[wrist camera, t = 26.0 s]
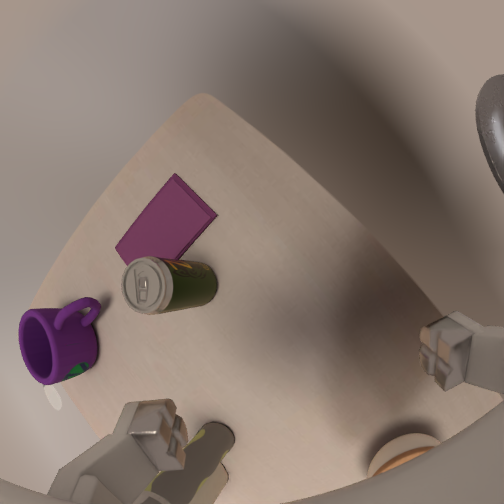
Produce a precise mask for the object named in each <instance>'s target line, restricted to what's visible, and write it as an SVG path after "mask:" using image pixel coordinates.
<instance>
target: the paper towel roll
mask: <svg viewBox="0 0 504 504" xmlns="http://www.w3.org/2000/svg"><path fill="white" fill-rule="evenodd" d="M227 481H228V474H227V472H226V471H225V469H224V467H223V465H222V464H221V462H220V463H219V465H218V466H217V468H216V469H215V471H214V472H213V473H212V475H211V476H209V477H208V479H207V480H206V481H205V483H204V484H203V485H202V486H201V488H200V489H199V490H198V491H197V493H196V494H195V495H194V497H193V499H192V500H191V501H190V503H189V504H213V503H214V502H215V500H216V499H217V497H218V496H219V494H220V493H221V491H222V489H223V488H224V486H225V485H226V483H227Z"/></svg>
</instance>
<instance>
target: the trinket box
mask: <svg viewBox="0 0 504 504" xmlns="http://www.w3.org/2000/svg"><path fill="white" fill-rule="evenodd" d="M439 444H441V442H440V441H438V440H437V439H435V438H434V437H432V436H430V435H427V434H422V433H412V434H406V435H402V436H399V437H397V438H395V439H393V440H391V441H390V442H388V443H387V444H385V445H384V446H383V447H382V448H381V449H380V450H379V451H378V452H377V453H376V455H375V456H374V458H373V459H372V461H371V463H370V466H369V469H368V473H367V479H368V478H370V477H373V476H375V475H378V474H380V473H383V472H385V471H387V470H390V469H392V468H394V467H396V466H399V465H401V464H403V463H405V462H407V461H409V460H411V459H413V458H415V457H417V456H419V455H421V454H423V453H425V452H427V451H428V450H430V449H432V448H434V447H436V446H437V445H439Z"/></svg>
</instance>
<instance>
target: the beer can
mask: <svg viewBox="0 0 504 504" xmlns="http://www.w3.org/2000/svg"><path fill="white" fill-rule="evenodd" d="M121 286H122V293H123V296H124V299H125V301H126V302H127V304H128V305H129V307H130V308H132V309H133V310H134V311H136V312H139V313H144V314H147V315H155V314H161V313H166V312H172V311H177V310H182V309H188V308H193V307H198V306H202V305H205V304H207V303H208V302H209V301H210V300H211V299H212V298H213V296H214V294H215V292H216V287H217V283H216V277H215V275H214V273H213V271H212V270H211V269H210V268H209V267H208V266H207V265H205V264H203V263H199V262H192V261H184V260H176V259H168V258H161V257H153V256H147V257H142V258H139V259H135V260H134V261H132V262H131V263H130V264H129V265H128V266H127V267H126V269H125V271H124V273H123V276H122V283H121Z"/></svg>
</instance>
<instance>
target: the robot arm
mask: <svg viewBox="0 0 504 504" xmlns="http://www.w3.org/2000/svg"><path fill="white" fill-rule="evenodd" d="M419 339H420V340H421V341H422V343H423V344H422V345H421V347H420V349H419V361H420V364H421V367H422V368H423V370H424V371H425V372H426V373H427V374H428V375H432V376H435V382H436V383H437V384H438V385H439V386H440V387H441V388H442V389H443V390H444V391H445V392H446V391H448V390H449V389H451V388H453V387H455V386H457V385H458V384H460V383H462V382H464V381H465V383H468V384H472V385H475V386H478V387H481V388H485V389H488V390H491V391H495V392H498V393H501V394H504V327H500V326H487V327H484V326H482V325H481V324H479V323H477V322H475V321H474V320H472V319H471V318H469V317H467V316H466V315H464V314H462V313H460V312H459V311H454V312H452V313H450V314H448V315H446V316H444V317H443V318H441V319H439V320H437V321H435V322H433V323H431V324H429V325H427V326H424V327H422V328H421V330H420V335H419ZM176 409H177V408H176V406H175V404H174V402H173V401H172V400H171V399H160V400H149V401H138V402H128V403H127V404H125V406H124V408H123V411H122V413H121V415H120V417H119V420H118V422H117V424H116V427H115V429H114V431H113V433H112V434H108V435H107V436H105V437H104V438H103V439H101V440H100V441H99V442H97V443H96V444H95V445H93V446H92V447H91V448H89V449H88V450H86V451H85V452H84V453H82V454H81V455H79V456H78V457H77V458H75V459H74V460H72V461H71V462H69V463H68V464H67V465H65V466H64V467H62V468H61V469H59V471H58V473H57V475H56V477H55V479H54V481H53V483H52V485H51V488H50V490H49V492H48V494H47V495H45V494H42V493H39V492H35V491H32V490H29V489H26V488H23V487H21V486H18V485H15V484H13V483H10V482H8V481H5V480H3V479H0V504H133V503H134V501H135V500H136V499H137V498H138V497H139V496H140V494H141V493H142V492H143V491H144V490H145V489H146V487H147V486H148V485H149V484H150V483H151V482H152V480H153V479H154V478H155V477H156V476H157V474H158V473H159V471H170V470H183V469H184V464H185V457H186V454H185V452H184V450H183V448H184V447H185V446H186V445H187V442H188V433H187V428H186V425H185V422H184V421H183V419H182V417H180V416H178V415H177V414H176ZM282 504H504V400H503V401H502V402H501V403H500V404H498V405H497V406H496V407H494V408H493V409H492V410H490V411H489V412H488V413H486V414H485V415H484V416H482V417H481V418H480V419H478V420H477V421H475V422H474V423H472V424H471V425H469V426H468V427H466V428H465V429H463V430H462V431H460V432H459V433H457V434H456V435H454V436H452V437H451V438H449V439H448V440H446V441H444V442H443V443H441V444H439V445H437V446H436V447H434V448H432V449H430V450H428V451H427V452H425V453H423V454H421V455H419V456H417V457H415V458H413V459H411V460H409V461H407V462H405V463H403V464H401V465H399V466H396V467H394V468H392V469H390V470H387V471H385V472H383V473H380V474H378V475H375V476H373V477H370V478H368V479H365V480H363V481H360V482H357V483H354V484H352V485H349V486H346V487H343V488H340V489H336V490H333V491H330V492H327V493H323V494H320V495H316V496H312V497H308V498H304V499H300V500H296V501H291V502H287V503H282Z"/></svg>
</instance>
